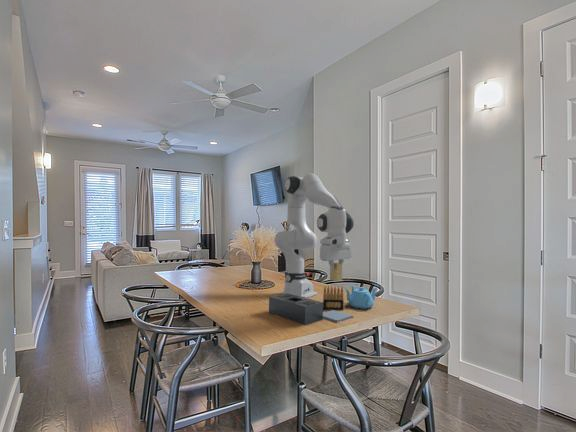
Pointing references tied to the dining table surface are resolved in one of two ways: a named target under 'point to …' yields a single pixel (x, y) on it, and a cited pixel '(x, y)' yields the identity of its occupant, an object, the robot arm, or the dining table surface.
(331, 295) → the ammunition clip
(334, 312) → the slate mat
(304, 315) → the dark grey socket block
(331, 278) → the brass plug
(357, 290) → the teapot
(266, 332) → the dining table surface
